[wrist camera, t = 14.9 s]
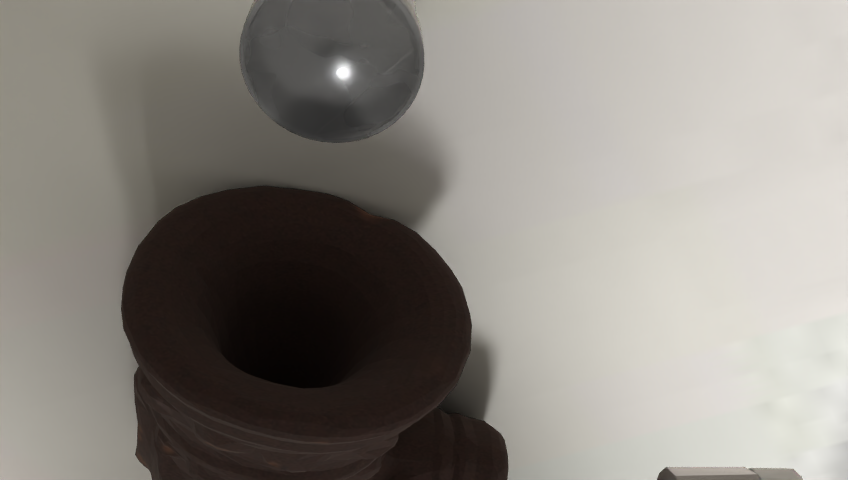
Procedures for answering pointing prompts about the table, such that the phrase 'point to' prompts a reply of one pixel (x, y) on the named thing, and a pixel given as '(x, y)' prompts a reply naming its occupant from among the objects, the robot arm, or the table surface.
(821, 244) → the table surface
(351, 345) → the pipe
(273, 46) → the container
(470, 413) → the table surface
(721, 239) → the table surface
